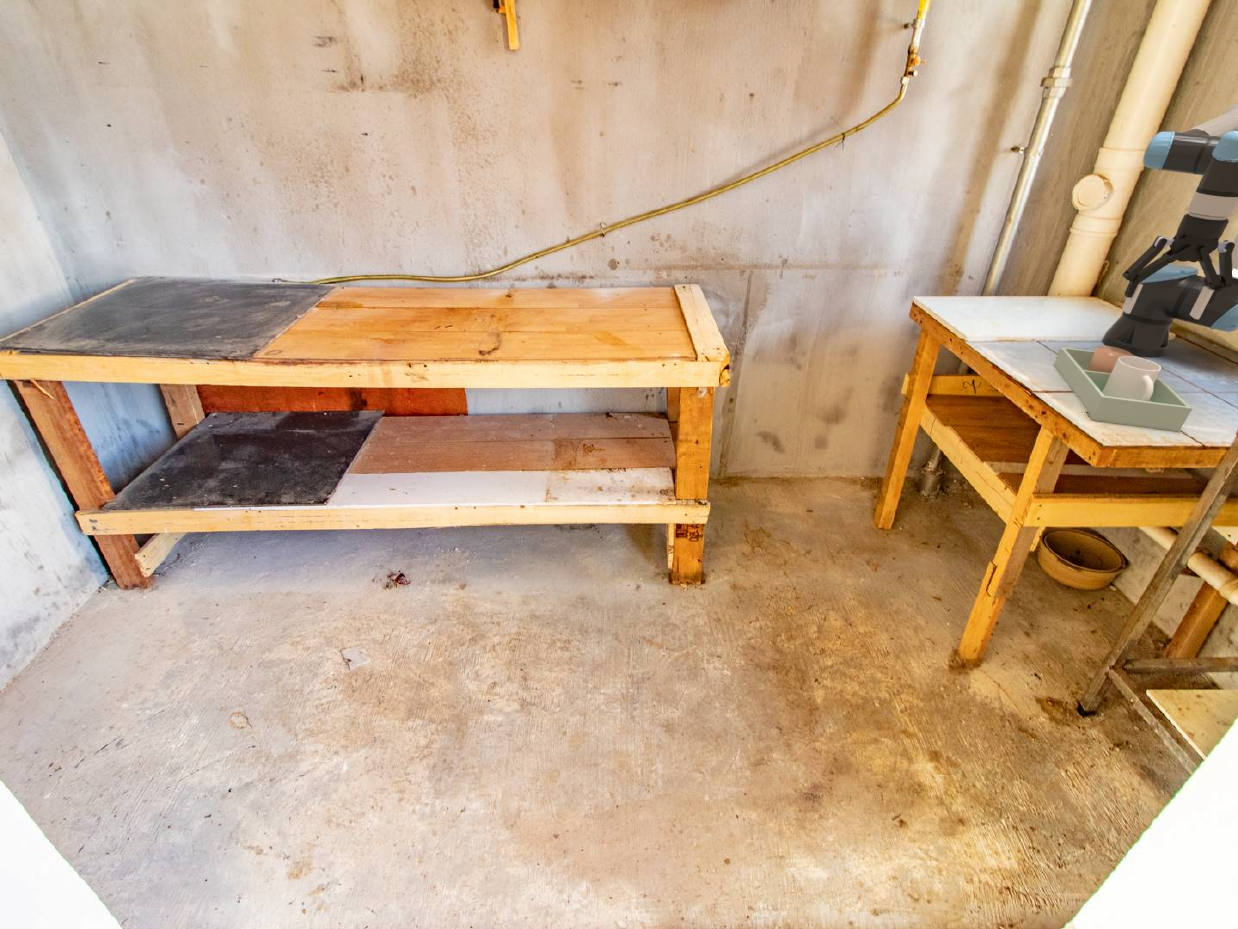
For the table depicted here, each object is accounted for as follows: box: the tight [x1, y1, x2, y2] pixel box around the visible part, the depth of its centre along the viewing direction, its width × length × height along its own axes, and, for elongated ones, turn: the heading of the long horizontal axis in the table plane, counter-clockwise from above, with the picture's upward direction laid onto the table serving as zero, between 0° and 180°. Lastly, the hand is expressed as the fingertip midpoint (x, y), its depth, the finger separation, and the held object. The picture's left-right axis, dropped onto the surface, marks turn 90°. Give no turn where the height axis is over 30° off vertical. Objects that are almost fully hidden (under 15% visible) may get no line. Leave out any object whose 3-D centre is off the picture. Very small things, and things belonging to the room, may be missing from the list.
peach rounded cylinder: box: [1087, 345, 1134, 373], centre depth 162 cm, size 8×8×8 cm
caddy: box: [1053, 347, 1193, 432], centre depth 157 cm, size 18×30×6 cm, turn 165°
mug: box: [1102, 356, 1162, 401], centre depth 149 cm, size 12×8×10 cm
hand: (1159, 314), depth 146 cm, fingers open, 13 cm apart
